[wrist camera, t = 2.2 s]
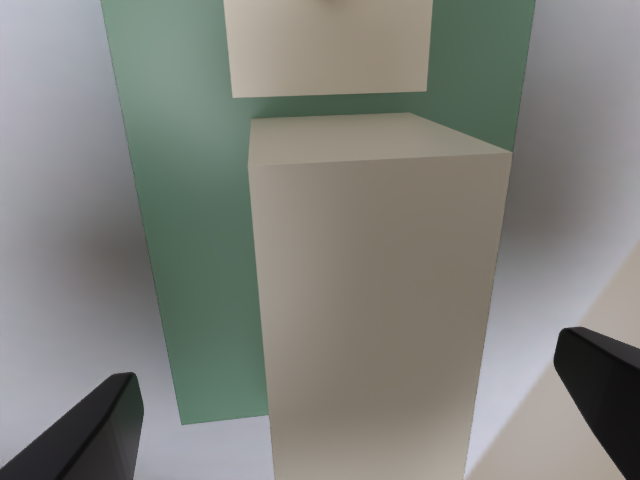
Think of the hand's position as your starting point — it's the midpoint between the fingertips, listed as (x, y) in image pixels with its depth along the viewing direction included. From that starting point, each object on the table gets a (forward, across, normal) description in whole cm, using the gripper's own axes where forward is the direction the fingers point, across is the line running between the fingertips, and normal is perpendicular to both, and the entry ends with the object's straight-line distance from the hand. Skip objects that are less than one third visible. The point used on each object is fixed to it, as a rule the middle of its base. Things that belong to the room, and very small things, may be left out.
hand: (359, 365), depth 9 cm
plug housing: (+4, 0, 0) cm, 4 cm away
